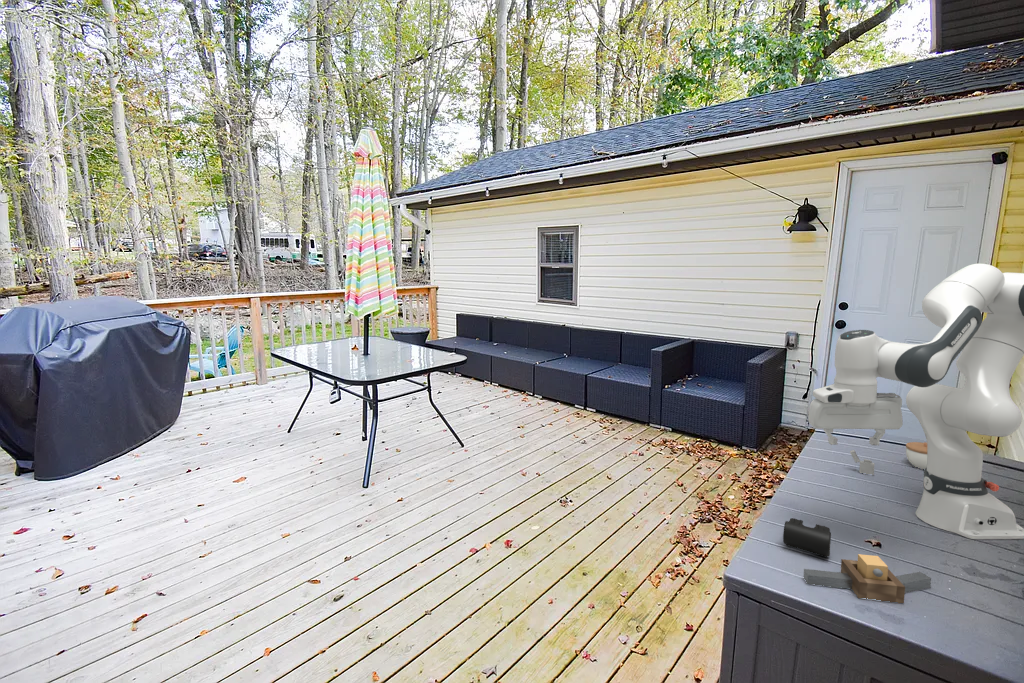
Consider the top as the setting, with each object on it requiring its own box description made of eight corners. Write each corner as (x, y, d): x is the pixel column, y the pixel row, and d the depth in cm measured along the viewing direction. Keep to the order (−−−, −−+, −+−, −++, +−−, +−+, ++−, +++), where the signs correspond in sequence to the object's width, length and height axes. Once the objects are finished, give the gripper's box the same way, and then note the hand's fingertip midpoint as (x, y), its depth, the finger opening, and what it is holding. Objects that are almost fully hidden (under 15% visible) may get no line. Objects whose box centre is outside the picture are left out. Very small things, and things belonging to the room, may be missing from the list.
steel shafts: (924, 581, 103) (924, 572, 103) (942, 599, 98) (943, 589, 97) (797, 568, 110) (797, 559, 110) (807, 584, 104) (807, 575, 104)
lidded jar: (902, 459, 172) (904, 436, 170) (941, 465, 165) (943, 440, 164) (906, 469, 163) (908, 444, 162) (946, 475, 157) (948, 449, 156)
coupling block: (874, 582, 104) (876, 554, 103) (887, 597, 99) (889, 568, 98) (855, 580, 105) (856, 552, 104) (866, 595, 100) (868, 566, 99)
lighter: (873, 474, 160) (875, 453, 159) (873, 476, 158) (875, 454, 157) (849, 469, 164) (850, 449, 163) (848, 471, 163) (850, 450, 162)
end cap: (782, 549, 118) (783, 525, 117) (787, 537, 123) (787, 514, 122) (828, 563, 111) (829, 538, 111) (831, 550, 117) (832, 526, 116)
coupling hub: (881, 578, 105) (882, 563, 104) (903, 603, 97) (905, 586, 96) (840, 574, 107) (841, 559, 107) (858, 598, 99) (859, 582, 98)
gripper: (894, 389, 116) (892, 440, 117) (806, 390, 121) (805, 439, 122) (909, 395, 110) (907, 449, 111) (816, 396, 114) (815, 448, 116)
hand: (853, 444), depth 117 cm, fingers open, 8 cm apart
